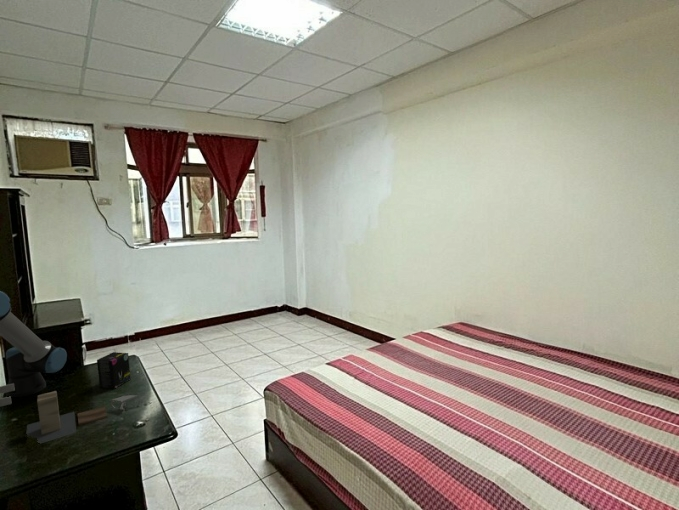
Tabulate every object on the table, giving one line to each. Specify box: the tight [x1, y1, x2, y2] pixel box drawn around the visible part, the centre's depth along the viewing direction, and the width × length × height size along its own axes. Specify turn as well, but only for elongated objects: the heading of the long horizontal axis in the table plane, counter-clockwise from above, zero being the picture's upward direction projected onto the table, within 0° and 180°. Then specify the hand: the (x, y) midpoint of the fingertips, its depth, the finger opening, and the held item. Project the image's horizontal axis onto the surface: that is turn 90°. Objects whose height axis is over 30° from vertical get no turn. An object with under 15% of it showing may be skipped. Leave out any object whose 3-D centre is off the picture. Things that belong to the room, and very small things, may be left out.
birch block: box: [36, 390, 61, 435], centre depth 152 cm, size 6×6×14 cm
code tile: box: [25, 411, 77, 445], centre depth 153 cm, size 20×16×1 cm
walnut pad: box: [77, 405, 108, 427], centre depth 161 cm, size 10×10×1 cm
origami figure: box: [110, 394, 143, 414], centre depth 167 cm, size 12×8×5 cm
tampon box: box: [96, 351, 131, 390], centre depth 191 cm, size 11×9×15 cm
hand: (12, 393), depth 145 cm, fingers open, 13 cm apart
